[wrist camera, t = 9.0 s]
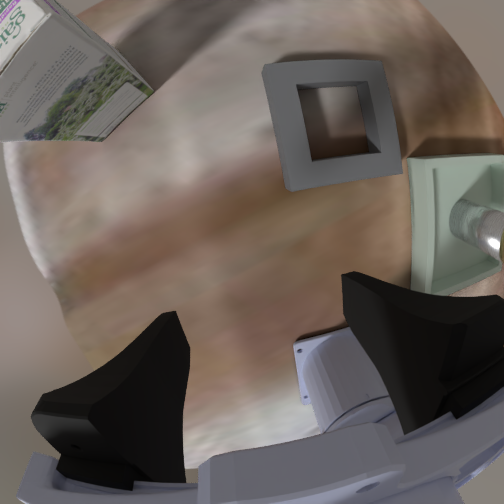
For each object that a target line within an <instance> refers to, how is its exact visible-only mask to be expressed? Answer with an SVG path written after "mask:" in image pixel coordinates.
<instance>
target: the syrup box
mask: <svg viewBox="0 0 504 504" xmlns="http://www.w3.org/2000/svg"><path fill="white" fill-rule="evenodd" d="M153 92H154V90H153V89H152V88H151V87H150V85H149V84H148V83H147V82H146V81H145V80H144V79H143V78H142V76H141V75H140V74H139V73H138V72H137V71H136V70H135V69H134V68H133V67H132V66H131V64H130V63H129V62H128V61H127V60H126V59H125V58H124V57H123V56H122V55H121V54H120V53H119V52H118V50H116V49H115V48H114V47H113V46H111V45H110V44H109V43H108V42H106V41H105V40H104V39H102V38H101V37H100V36H99V35H97V34H96V33H95V32H94V31H92V30H91V29H90V28H89V27H88V26H87V25H85V24H84V23H83V22H82V21H81V20H80V19H78V18H77V17H76V16H75V15H73V14H72V13H71V12H70V11H69V10H67V9H66V8H65V7H64V6H63V5H61V4H60V3H59V2H57V1H56V0H0V142H15V141H46V140H47V141H93V142H102V141H103V140H104V139H105V138H106V137H107V136H108V135H109V134H110V133H111V132H112V131H113V130H114V129H115V128H116V127H117V126H118V125H119V124H120V123H121V122H122V121H123V120H124V119H125V118H126V117H127V116H128V115H129V114H130V113H131V112H132V111H133V110H134V109H135V108H137V107H138V106H139V105H140V104H141V103H142V102H143V101H144V100H146V99H147V98H148V97H149V96H150V95H151V94H152V93H153Z"/></svg>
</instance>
